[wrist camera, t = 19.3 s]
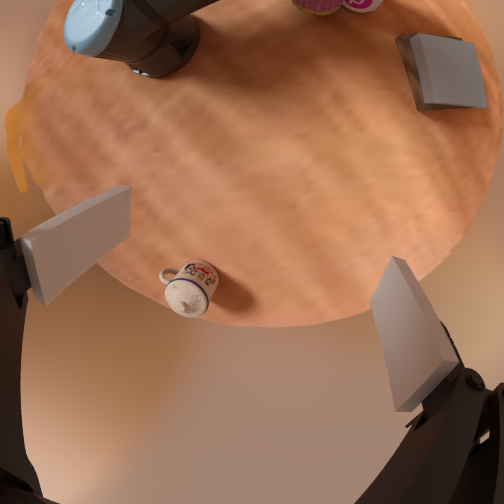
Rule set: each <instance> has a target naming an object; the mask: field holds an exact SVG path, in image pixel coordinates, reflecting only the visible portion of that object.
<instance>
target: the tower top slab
mask: <svg viewBox="0 0 504 504" xmlns="http://www.w3.org/2000/svg"><path fill="white" fill-rule="evenodd" d="M410 42H411V45H412V49H413V52H414V56H415V60H416V64H417V68H418V72H419V77H420V82H421V87H422V92H423V97H424V103H428V104H444V105H456V106H465V107H473V108H488V106H487V100H486V94H485V88H484V83H483V78H482V74H481V69H480V65H479V61H478V57H477V54H476V50H475V47H474V44H472V43H468V42H464V41H460V40H455V39H451V38H446V37H440V36H435V35H428V34H421V33H418V34H416V35H415V36H413V37H412V38H410Z"/></svg>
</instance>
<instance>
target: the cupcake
mask: <svg viewBox="0 0 504 504" xmlns="http://www.w3.org/2000/svg"><path fill="white" fill-rule="evenodd" d="M292 2H293V4H294V5H295V6H296V7H297V8H298V9H299V10H301V11H303V12H307V13H310V14H317V15H321V16H323V15H328V14H331V13H333V12H334V11H336V10H337V9H339V8H340V7H341V5H342V0H292Z"/></svg>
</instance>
